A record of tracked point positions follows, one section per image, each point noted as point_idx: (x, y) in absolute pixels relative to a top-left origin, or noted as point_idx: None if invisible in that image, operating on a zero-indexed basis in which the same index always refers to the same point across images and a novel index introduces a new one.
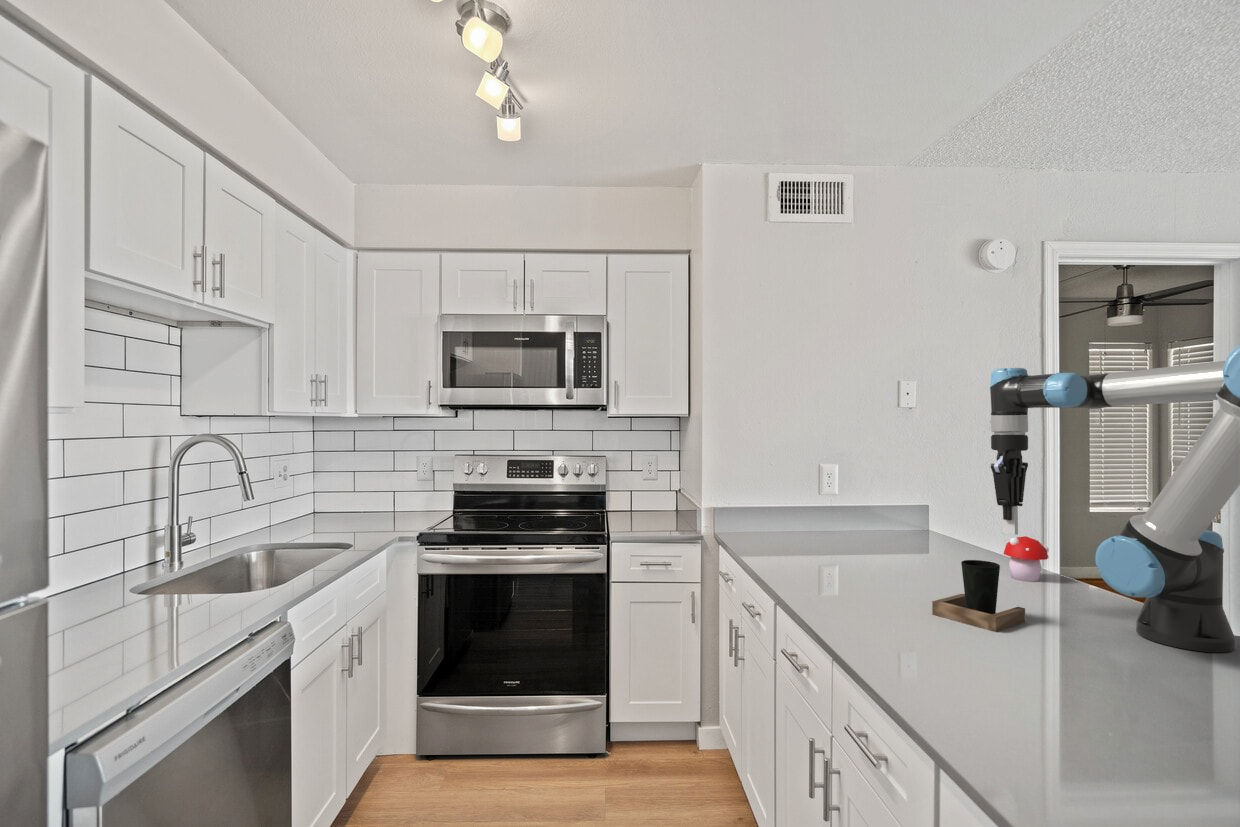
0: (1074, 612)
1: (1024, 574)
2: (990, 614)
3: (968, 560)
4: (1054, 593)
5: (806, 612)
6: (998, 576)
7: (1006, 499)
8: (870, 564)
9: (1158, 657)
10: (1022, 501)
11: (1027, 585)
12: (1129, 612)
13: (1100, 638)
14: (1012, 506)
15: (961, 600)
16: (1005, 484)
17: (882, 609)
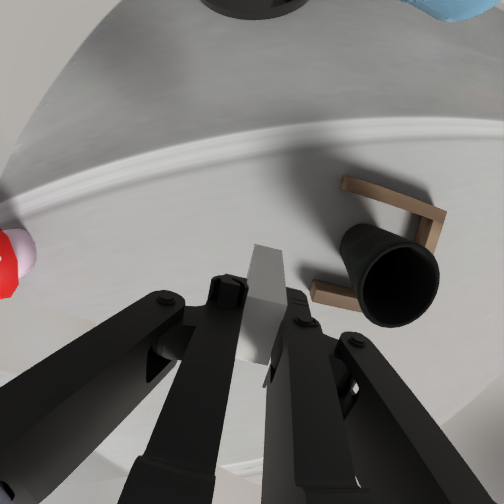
0: (193, 115)
1: (28, 249)
2: (434, 222)
3: (374, 320)
4: (74, 182)
5: (458, 406)
6: (397, 237)
7: (381, 357)
8: (139, 444)
9: (386, 4)
10: (163, 292)
11: (55, 234)
12: (123, 54)
13: (352, 61)
14: (305, 314)
15: (341, 292)
16: (439, 434)
17: (408, 367)
